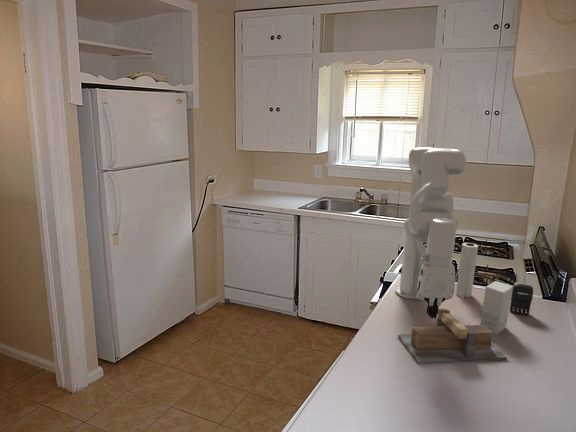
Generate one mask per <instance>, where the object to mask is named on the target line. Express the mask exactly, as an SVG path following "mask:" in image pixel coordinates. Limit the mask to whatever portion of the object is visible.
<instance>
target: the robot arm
mask: <svg viewBox="0 0 576 432" xmlns="http://www.w3.org/2000/svg"><path fill="white" fill-rule="evenodd" d="M408 164H409V169H410V172H411V178H412V181H411V191H410V201H409V205H408V206H409V207H408V218H407V219H405V220H404V223H403V252H402V253H403V254H402V262H401V265H402V266H401V274H400V279H399V281H400V284H399V286H397V287H396V288H395V293H396V295H398V296H399V297H402V298H405V299H408V300H421V301H425V303H426V315H427V316H428V317H429V318H430V319H437V318H438V310H439V309H440V307H441V306H442V303H444V302H445V301H447V300H451V299H452V298H453V297H454V295H455V291H456V290H455V287H456V272H455V271H456V269H455V265H454V264H453V257H454V250H455V249H454V248H455V242H456V241H455V240H456V235H457V234H456V233H457V230H458V219H457V218H456V216H455V215H454V205H455V204H454V197H453V195H452V194H451V193H450V192H449V190H450V181H449V180H450V179H449V178H450V177H449V176H455V177H456V176H457V177H459V176H462V175H464V174H465V171H466V169H467V159H466V156H465V153H464V152H463V151H462V150H459V149H455V148H442V147H441V148H439V147H427V146H426V147H421V146H420V147H415V148H412V149H411V150H410V151H409V154H408ZM423 243H427V244H426V246H425V245H424V244H423Z"/></svg>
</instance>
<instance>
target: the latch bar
mask: <svg viewBox="0 0 576 432" xmlns="http://www.w3.org/2000/svg"><path fill="white" fill-rule="evenodd" d="M437 319H438V320H440V321H442V322H443V323H444V324H445V325H446V326H447V327H448V328H449V329H450V330H451V331H452V332H453V333H454V334H455V335H456V336H457V337H458V338H459V339H462V338H467V333H468V329H467V328H466V327H465V326H463V323H462V322H461V321H459V319H457V318H456V317H455V316H454V315H453V314H452V313H451V311H450V310H449V309H447V308H439V309H438V314H437Z"/></svg>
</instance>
